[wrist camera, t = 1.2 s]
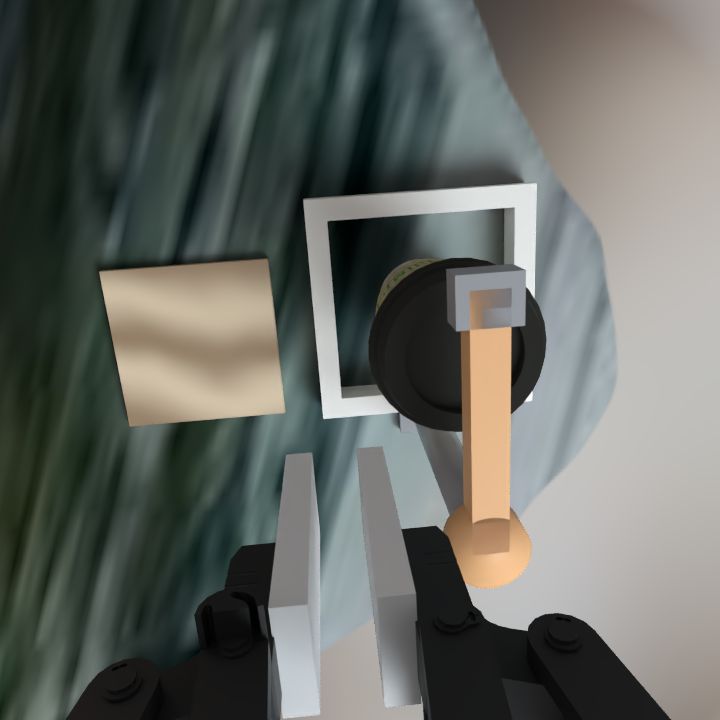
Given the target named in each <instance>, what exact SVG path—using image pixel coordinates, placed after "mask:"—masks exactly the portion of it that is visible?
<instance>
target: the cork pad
mask: <svg viewBox="0 0 720 720" xmlns="http://www.w3.org/2000/svg"><path fill="white" fill-rule="evenodd" d="M99 274H100V279H101V284H102V289H103V294H104V299H105V304H106V309H107V314H108V319H109V324H110V329H111V334H112V340H113V345H114V350H115V355H116V360H117V365H118V370H119V375H120V380H121V385H122V390H123V395H124V400H125V405H126V410H127V415H128V420H129V425H130V426H139V425H151V424H162V423H174V422H185V421H197V420H208V419H220V418H231V417H243V416H254V415H266V414H277V413H285V402H284V393H283V384H282V375H281V367H280V358H279V349H278V340H277V331H276V322H275V313H274V304H273V296H272V287H271V278H270V269H269V260H268V258H261V259H248V260H235V261H222V262H208V263H195V264H182V265H169V266H156V267H143V268H130V269H116V270H103V271H100V272H99Z"/></svg>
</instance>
